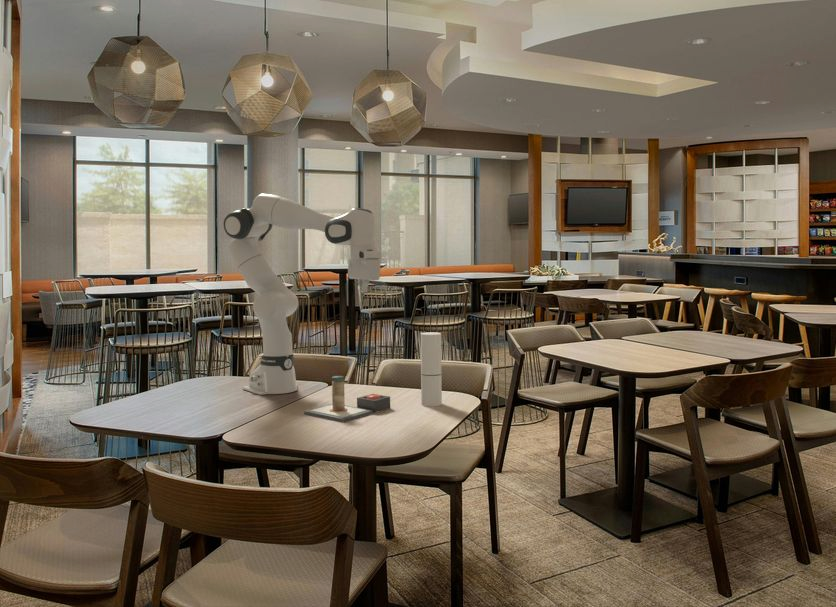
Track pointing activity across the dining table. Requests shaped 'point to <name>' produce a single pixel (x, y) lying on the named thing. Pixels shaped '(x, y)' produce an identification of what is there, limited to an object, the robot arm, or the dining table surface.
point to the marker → (338, 393)
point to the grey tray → (338, 413)
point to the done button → (373, 397)
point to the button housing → (374, 403)
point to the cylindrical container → (431, 369)
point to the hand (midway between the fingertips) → (363, 292)
